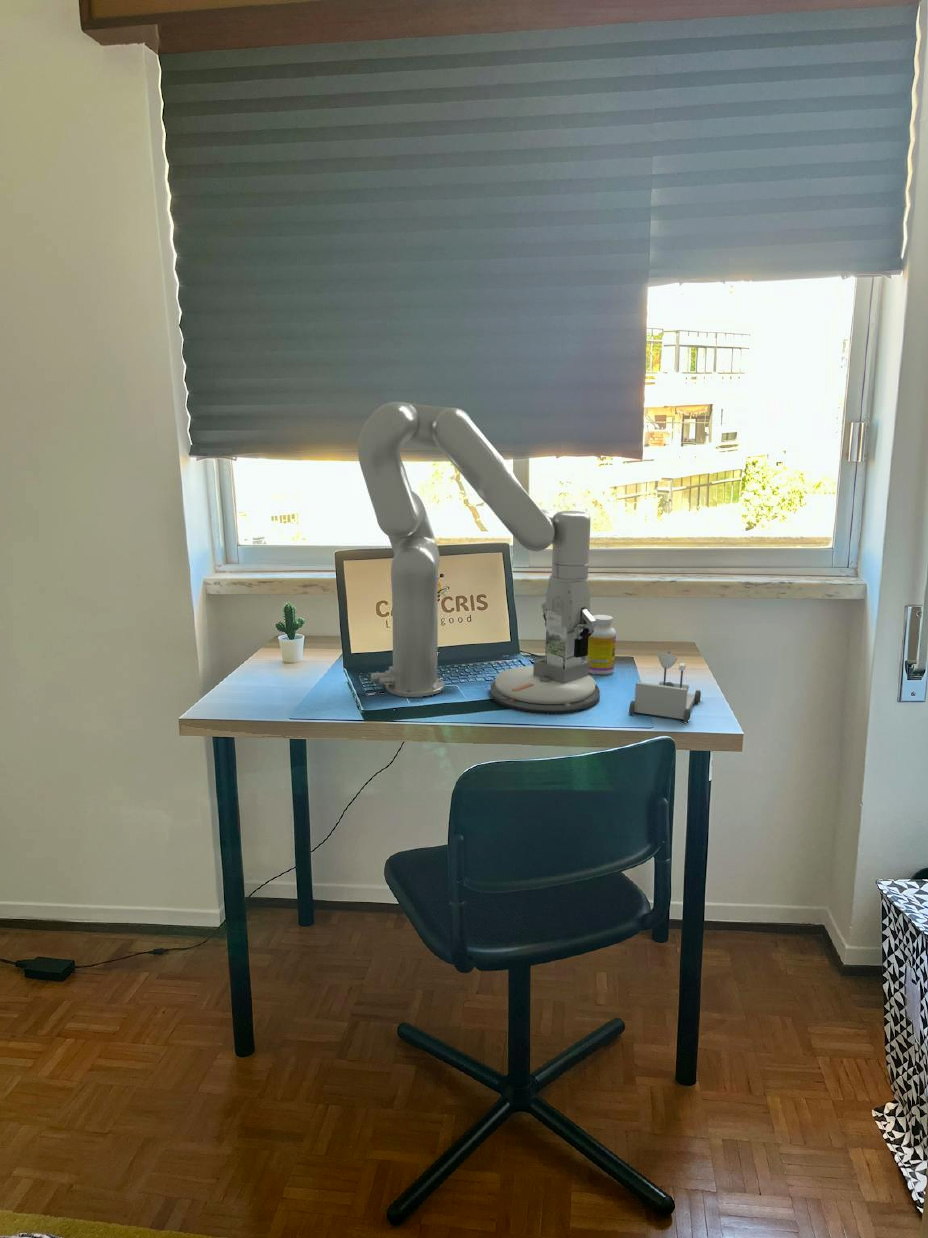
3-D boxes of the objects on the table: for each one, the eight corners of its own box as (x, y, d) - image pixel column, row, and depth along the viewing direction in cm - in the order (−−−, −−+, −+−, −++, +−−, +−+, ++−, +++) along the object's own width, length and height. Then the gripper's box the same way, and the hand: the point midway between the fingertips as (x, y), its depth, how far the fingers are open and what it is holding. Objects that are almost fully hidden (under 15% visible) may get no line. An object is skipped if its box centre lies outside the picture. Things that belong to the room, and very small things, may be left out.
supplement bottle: (615, 676, 205) (619, 621, 202) (586, 675, 205) (589, 620, 202) (611, 667, 212) (614, 613, 208) (583, 666, 212) (585, 613, 208)
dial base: (514, 719, 177) (514, 710, 177) (475, 683, 198) (475, 675, 198) (619, 707, 184) (619, 699, 184) (570, 674, 206) (571, 666, 205)
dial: (552, 711, 177) (553, 689, 175) (474, 686, 191) (474, 666, 190) (615, 687, 191) (616, 667, 190) (538, 666, 205) (539, 647, 204)
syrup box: (581, 676, 194) (584, 610, 190) (564, 682, 190) (566, 615, 186) (560, 670, 198) (563, 605, 194) (543, 676, 193) (545, 610, 190)
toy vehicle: (650, 647, 194) (705, 654, 190) (647, 690, 196) (702, 698, 192) (631, 670, 178) (691, 678, 174) (628, 717, 180) (687, 726, 176)
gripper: (530, 565, 193) (528, 643, 197) (581, 580, 178) (577, 663, 183) (559, 562, 197) (556, 638, 201) (611, 577, 182) (606, 658, 186)
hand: (566, 650), depth 192 cm, fingers open, 9 cm apart
